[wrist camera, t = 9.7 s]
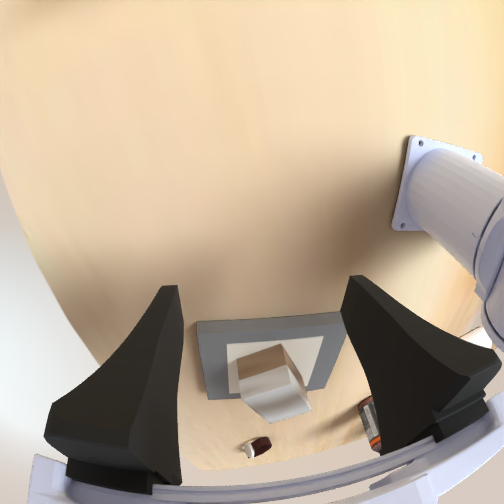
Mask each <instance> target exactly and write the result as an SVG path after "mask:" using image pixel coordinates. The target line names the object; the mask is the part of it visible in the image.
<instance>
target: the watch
mask: <svg viewBox="0 0 504 504" xmlns="http://www.w3.org/2000/svg"><path fill="white" fill-rule="evenodd" d="M271 446H272V444H271V442H270V440H269V438H268V437H264V438H260V439H257V440H255V441H254V442H252V443H249V442H246V443H245V444H244V450H245V453H246V455H247V456H248V458H253V459H254V457H256V456H258V455H261V454H263V453H264V452H266V451H267V450H269V449H270V448H271Z"/></svg>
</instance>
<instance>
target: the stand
mask: <svg viewBox="0 0 504 504" xmlns="http://www.w3.org/2000/svg"><path fill="white" fill-rule="evenodd" d="M346 334H347V331H346V329H345V326H344V322H343V319H342V316H341V312H332V313H322V314H312V315H301V316H289V317H276V318H262V319H245V320H224V321H197V338H198V345H199V351H200V357H201V363H202V369H203V374H204V380H205V385H206V391H207V396H208V400H216V399H237V398H241V395H240V386H239V377H238V367H237V359H238V358H241V357H244V356H247V355H250V354H252V353H255V352H258V351H261V350H264V349H266V348H269V347H272V346H275V345H277V344H280V343H281V344H282V345H283V347H284V348H285V350H286V352H287V353H288V355H289V356H290V358H291V360H292V361H293V363H294V364H295V366H296V367H297V369H298V371H299V372H300V374H301V375H302V378H303V381H304V385H305V389H306V391H311V390H317V389H323V388H325V386H326V383H327V381H328V379H329V376H330V374H331V372H332V369H333V367H334V365H335V362H336V360H337V357H338V355H339V352H340V350H341V347H342V345H343V342H344V339H345V337H346Z"/></svg>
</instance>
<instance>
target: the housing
mask: <svg viewBox="0 0 504 504" xmlns="http://www.w3.org/2000/svg"><path fill="white" fill-rule="evenodd" d="M237 367H238V377H239V386H240V395H241V400H242V401H244V402H245V403H246V404H247V405H248V406H249V407H251V408H252V409H253V410H254V411H255V412H257V413H258V414H259V415H260V416H261V417H263V418H264V419H265V420H266V421H268V422H269V423H270V424H271V423H274V422H278V421H281V420H284V419H288V418H291V417H294V416H297V415H300V414H303V413H306V412H309V411H311V407H310V403H309V400H308V396H307V392H306V389H305V385H304V381H303V378H302V375H301V374H300V372H299V371H298V369H297V367H296V366H295V364H294V363H293V361H292V360H291V358H290V356H289V355H288V353H287V352H286V350H285V348H284V347H283V345H282V344H281V343H280V344H277V345H275V346H272V347H269V348H266V349H264V350H261V351H258V352H255V353H252V354H250V355H247V356H244V357H241V358H238V359H237Z"/></svg>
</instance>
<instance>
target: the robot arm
mask: <svg viewBox="0 0 504 504" xmlns="http://www.w3.org/2000/svg"><path fill="white" fill-rule="evenodd" d="M419 141H421V143H420V145H419ZM482 160H483V157H482V155H481V154H480V153H477V152H474V151H471V150H468V149H464V148H461V147H458V146H454V145H451V144H447V143H444V142H440V141H436V140H433V139H429V138H425V137H420V136H416V135H412V136H411V137H410V138H409V142H408V149H407V155H406V160H405V166H404V171H403V176H402V181H401V186H400V190H399V195H398V199H397V204H396V208H395V212H394V216H393V220H392V225H391V226H392V228H393V229H394V230H396V231H426V232H427V233H428V234H429V235H430V236H432V237H433V238H434V239H435V240H436V241H437V242H438V243H439V244H440V245H441V246H442V247H444V248H445V249H446V250H447V251H448V252H449V253H450V254H451V255H452V256H453V257H454V258H455V259H456V260H457V261H458V262H459V263H460V264H461V265H462V266H463V267H464V268H465V269H466V270H467V271H468V272H469V273H470V274H471V275H472V276H473V277H474V278H475V279H476V281H477V284H476V288H475V293H476V294H477V295H478V296H479V297H480V298H481V299H482V301H483V303H482V306H481V320H482V324H483V327H484V329H485V331H486V333H487V335H488V336H489V338H490V339H491V341H492V342H493V343H494V344H495V345H496V346H497V347H498V348H499V349H500V350H501V351H503V352H504V176H502V175H501V174H499V173H497V172H495V171H493V170H491V169H489V168H487V167H486V166H484V165H482ZM402 223H403V225H402V226H401V224H402ZM340 312H341V316H342V319H343V322H344V326H345V329H346V331H347V334H348V336H349V338H350V340H351V343H352V345H353V347H354V349H355V351H356V354H357V356H358V358H359V360H360V362H361V365H362V367H363V369H364V372H365V374H366V377H367V380H368V383H369V387H370V390H371V394H372V398H373V402H374V406H375V410H376V415H377V420H378V426H379V432H380V440H381V450H382V456H380V457H378V458H374V459H371V460H369V461H365V462H362V463H359V464H355V465H352V466H349V467H345V468H341V469H338V470H334V471H330V472H325V473H321V474H316V475H311V476H307V477H301V478H295V479H290V480H283V481H276V482H268V483H259V484H250V485H236V486H207V487H206V486H205V487H204V486H180V485H181V483H182V476H181V468H180V458H179V444H178V423H177V392H178V382H179V374H180V366H181V358H182V350H183V335H184V320H183V315H182V310H181V304H180V298H179V292H178V286H177V285H170V286H162V287H161V288H160V289H159V291H158V293H157V294H156V296H155V298H154V299H153V301H152V303H151V304H150V306H149V307H148V309H147V310H146V312H145V313H144V315H143V316H142V318H141V319H140V321H139V322H138V323H137V325H136V326H135V327H134V329H133V330H132V331H131V333H130V334H129V335H128V337H127V338H126V339H125V341H124V342H123V343H122V344H121V345H120V347H119V348H118V349H117V350H116V351H115V352H114V353H113V354H112V355H111V357H110V358H109V359H108V360H107V361H106V362H105V363H104V364H103V365H102V366H101V367H100V368H99V369H98V370H96V371H95V372H94V373H93V374H92V375H91V376H90V377H88V378H87V379H86V380H85V381H84V382H82V383H81V384H80V385H78V386H77V387H76V388H75V389H73V390H72V391H70V392H69V393H67V394H66V395H64V396H63V397H61V398H60V399H58V400H57V401H55V402H54V403H52V406H51V409H50V412H49V415H48V419H47V423H46V428H45V432H44V438H45V440H46V441H47V442H48V443H49V444H50V445H51V446H52V447H54V448H55V449H57V450H58V451H59V452H61V453H62V454H63V455H65V456H67V457H68V462H67V464H65V463H63V462H60V461H57V460H54V459H51V458H48V457H44V456H42V455H39V454H35V455H34V459H33V465H32V471H31V477H30V484H29V492H28V502H27V504H247V503H248V504H249V503H259V502H268V501H275V500H282V499H289V498H294V497H300V496H305V495H310V494H315V493H319V492H323V491H327V490H332V489H335V488H339V487H343V486H346V485H350V484H353V483H357V482H360V481H363V480H366V479H369V478H372V477H375V476H378V475H380V474H383V473H385V472H388V471H391V470H393V469H396V468H398V467H401V466H403V465H405V464H407V465H406V466H405V467H403V468H401V469H399V470H397V471H394V472H392V473H390V474H389V475H388V476H387V477H385V478H384V479H382V480H380V481H378V482H376V483H374V484H371V485H370V487H369V488H370V491H368V492H365V493H362V494H359V495H356V496H352V497H349V498H346V499H342V500H339V501H335V502H331V503H328V504H437V503H438V501H439V500H438V497H439V496H441V495H442V494H444V493H445V492H447V491H448V490H450V489H451V488H453V487H454V486H455V485H457V484H458V483H460V482H461V481H462V480H464V479H465V478H467V477H468V476H469V475H471V474H472V473H473V472H475V471H476V470H477V469H478V468H480V467H481V466H482V465H483V464H484V463H486V462H487V461H488V460H489V459H490V458H492V457H493V456H494V455H495V454H496V453H497V452H498V451H500V450H501V449H502V448H503V447H504V391H501V392H499V393H498V394H496V395H495V396H493V397H492V398H490V399H489V400H488V401H487V402H484V400H483V398H484V397H485V396H486V393H485V392H484V390H483V389H484V388H485V387H486V385H487V384H488V383H489V382H490V381H491V380H492V379H493V377H495V375H496V374H497V372H498V371H499V370H500V368H501V365H502V362H501V361H500V359H499V357H498V356H497V354H496V353H495V351H494V350H493V349H490V348H486V347H483V346H480V345H476V344H473V343H471V342H468V341H465V340H463V339H460V338H458V337H456V336H453V335H451V334H449V333H447V332H445V331H443V330H441V329H439V328H437V327H436V326H434V325H432V324H430V323H429V322H427V321H425V320H424V319H422V318H421V317H419V316H417V315H416V314H415V313H413V312H412V311H410V310H409V309H407V308H406V307H405V306H403V305H402V304H400V303H399V302H398V301H396V300H395V299H394V298H392V297H391V296H390V295H389V294H387V293H386V292H385V291H383V290H382V289H381V288H379V287H378V286H377V285H376V284H374V283H373V282H372V281H370V280H369V279H367V278H366V277H364V276H363V275H356V276H350V278H349V281H348V285H347V289H346V292H345V296H344V299H343V303H342V306H341V310H340Z"/></svg>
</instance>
